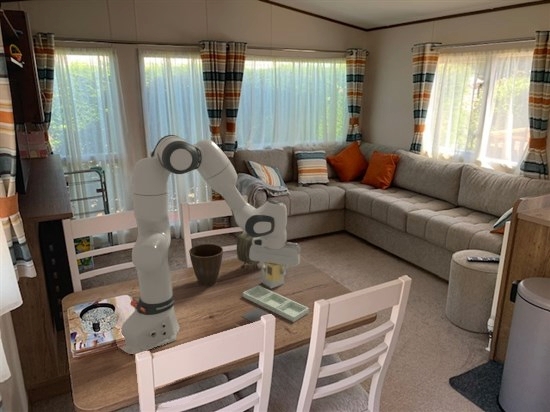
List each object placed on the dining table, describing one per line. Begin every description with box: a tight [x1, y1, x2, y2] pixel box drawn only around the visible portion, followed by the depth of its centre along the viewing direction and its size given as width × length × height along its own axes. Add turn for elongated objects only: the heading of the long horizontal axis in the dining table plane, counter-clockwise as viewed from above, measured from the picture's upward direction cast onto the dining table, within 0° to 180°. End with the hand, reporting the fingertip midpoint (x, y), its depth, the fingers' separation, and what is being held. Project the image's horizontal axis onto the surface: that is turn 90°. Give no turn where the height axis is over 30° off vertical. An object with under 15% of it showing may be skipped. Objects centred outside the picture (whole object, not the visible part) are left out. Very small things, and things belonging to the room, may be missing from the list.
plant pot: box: [189, 243, 224, 287], centre depth 183 cm, size 15×15×16 cm
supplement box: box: [261, 262, 285, 289], centre depth 182 cm, size 7×7×13 cm
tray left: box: [242, 284, 274, 305], centre depth 172 cm, size 9×9×2 cm
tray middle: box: [258, 291, 291, 314], centre depth 166 cm, size 9×9×2 cm
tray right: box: [275, 299, 310, 323], centre depth 160 cm, size 9×9×2 cm
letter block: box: [266, 262, 282, 282], centre depth 162 cm, size 5×4×7 cm
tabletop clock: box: [236, 231, 260, 270], centre depth 198 cm, size 14×9×25 cm, turn 136°
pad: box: [241, 307, 271, 323], centre depth 158 cm, size 9×9×1 cm
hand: (273, 272), depth 162 cm, fingers closed on letter block, 6 cm apart
